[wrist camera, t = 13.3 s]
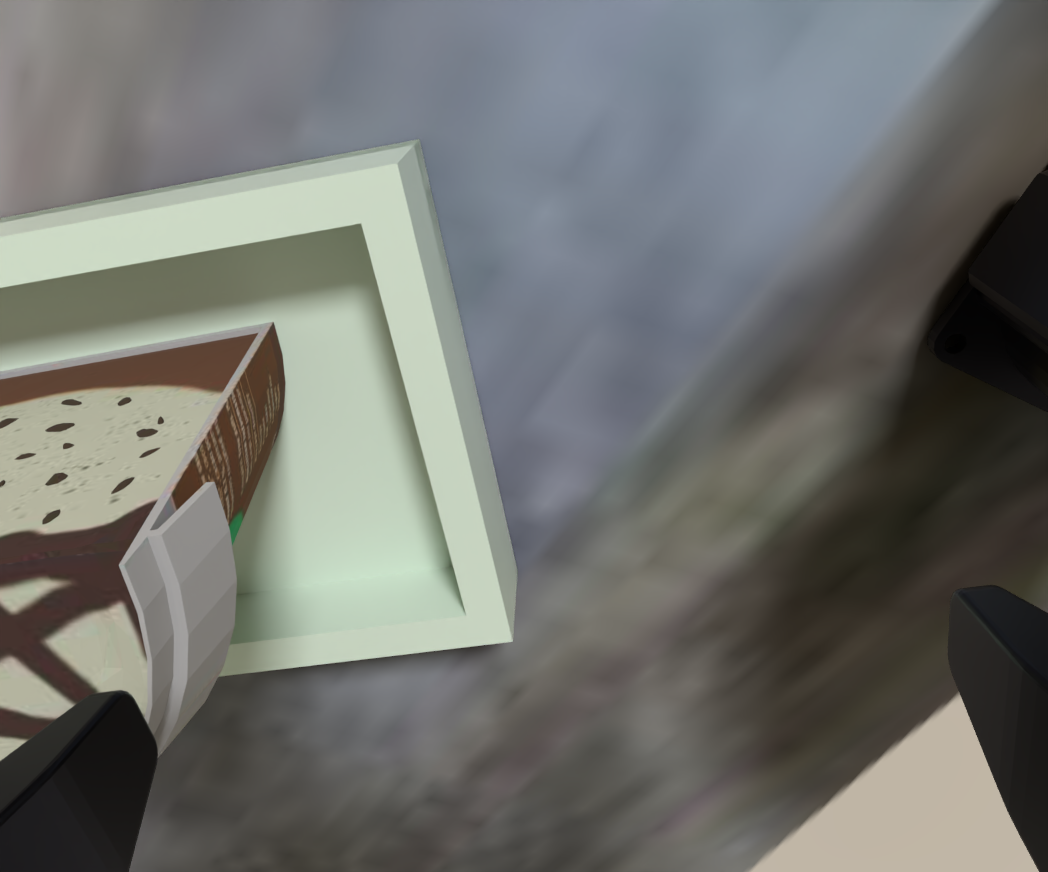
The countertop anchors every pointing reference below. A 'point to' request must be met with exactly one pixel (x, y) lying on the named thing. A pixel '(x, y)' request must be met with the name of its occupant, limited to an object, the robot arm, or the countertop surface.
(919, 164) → the countertop surface
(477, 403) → the tray
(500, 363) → the countertop surface
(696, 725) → the countertop surface
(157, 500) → the food container
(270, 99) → the countertop surface
